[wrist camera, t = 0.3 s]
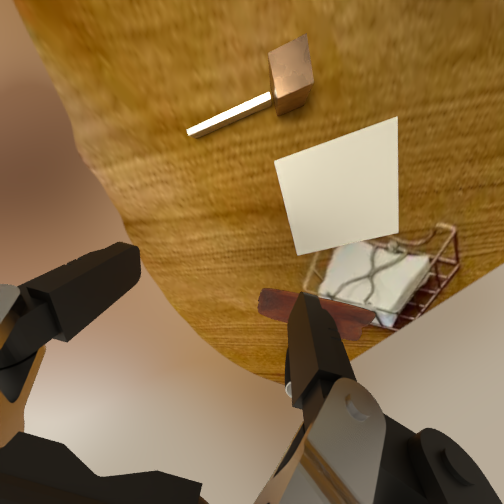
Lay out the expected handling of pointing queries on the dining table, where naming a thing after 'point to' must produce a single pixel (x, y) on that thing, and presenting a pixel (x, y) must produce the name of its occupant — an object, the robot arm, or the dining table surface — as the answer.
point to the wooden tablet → (344, 315)
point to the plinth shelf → (342, 189)
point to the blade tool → (272, 87)
